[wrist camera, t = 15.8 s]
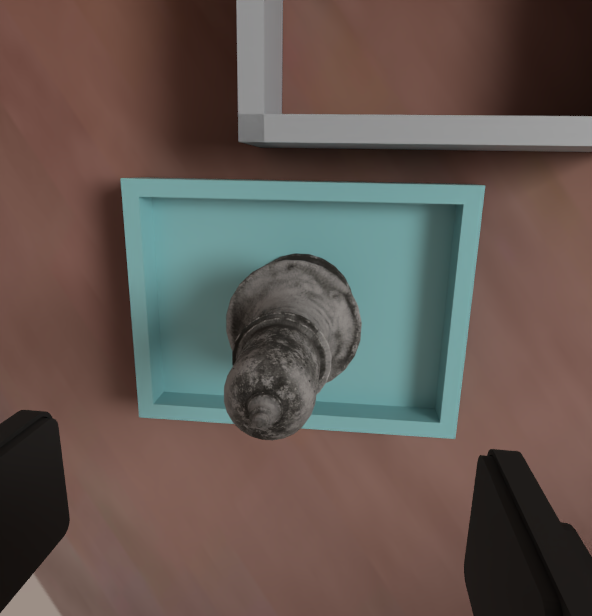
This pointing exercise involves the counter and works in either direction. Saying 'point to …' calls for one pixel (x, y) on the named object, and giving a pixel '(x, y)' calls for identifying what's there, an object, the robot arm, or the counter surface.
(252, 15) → the deep rectangular frame
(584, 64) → the counter surface
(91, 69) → the counter surface
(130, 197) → the tray
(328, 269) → the grey stone turned piece
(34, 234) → the counter surface
